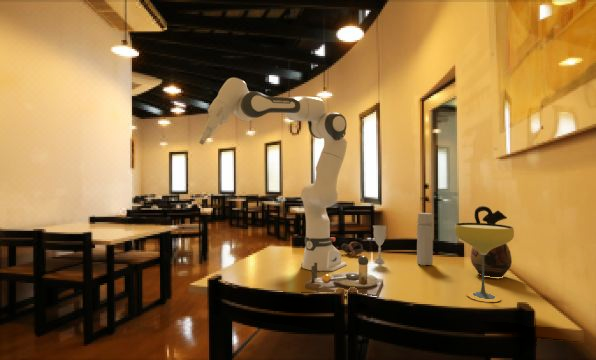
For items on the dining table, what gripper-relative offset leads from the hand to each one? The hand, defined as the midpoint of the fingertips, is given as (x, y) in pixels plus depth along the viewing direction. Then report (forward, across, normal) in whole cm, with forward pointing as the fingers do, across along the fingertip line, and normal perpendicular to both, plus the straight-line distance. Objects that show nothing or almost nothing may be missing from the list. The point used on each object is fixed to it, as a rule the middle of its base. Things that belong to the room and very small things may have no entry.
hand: (201, 141), depth 134 cm
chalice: (+6, +11, -102) cm, 103 cm away
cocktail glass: (+6, -46, -108) cm, 117 cm away
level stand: (+25, -20, -71) cm, 78 cm away
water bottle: (-3, +1, -120) cm, 120 cm away
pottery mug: (+7, +31, -98) cm, 104 cm away
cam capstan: (+22, -23, -71) cm, 78 cm away
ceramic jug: (-8, -25, -131) cm, 133 cm away
